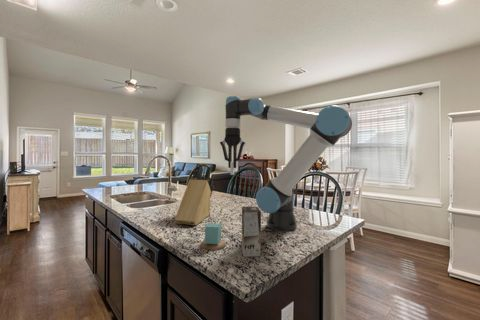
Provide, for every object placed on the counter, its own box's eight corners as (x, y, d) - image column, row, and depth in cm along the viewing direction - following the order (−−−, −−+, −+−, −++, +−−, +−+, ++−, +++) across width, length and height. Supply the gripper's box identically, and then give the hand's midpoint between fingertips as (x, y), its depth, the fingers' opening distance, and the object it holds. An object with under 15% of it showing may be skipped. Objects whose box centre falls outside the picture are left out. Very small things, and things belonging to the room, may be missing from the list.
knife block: (215, 211, 149) (215, 163, 149) (195, 227, 114) (195, 165, 114) (198, 210, 151) (199, 163, 151) (173, 226, 116) (174, 165, 116)
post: (228, 241, 96) (228, 223, 96) (222, 251, 86) (222, 231, 86) (205, 239, 98) (205, 222, 97) (197, 249, 88) (197, 229, 88)
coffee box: (261, 256, 82) (261, 211, 82) (243, 257, 81) (243, 211, 81) (257, 246, 91) (257, 206, 91) (240, 247, 90) (241, 206, 90)
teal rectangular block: (221, 239, 94) (221, 223, 94) (217, 244, 89) (218, 227, 89) (208, 238, 95) (209, 222, 95) (204, 243, 90) (205, 226, 90)
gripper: (246, 128, 119) (246, 174, 119) (222, 129, 121) (221, 173, 122) (244, 126, 112) (243, 175, 112) (218, 127, 114) (217, 174, 114)
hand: (232, 174), depth 117 cm, fingers closed
